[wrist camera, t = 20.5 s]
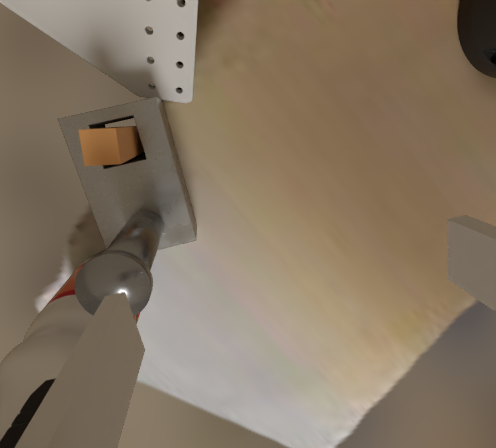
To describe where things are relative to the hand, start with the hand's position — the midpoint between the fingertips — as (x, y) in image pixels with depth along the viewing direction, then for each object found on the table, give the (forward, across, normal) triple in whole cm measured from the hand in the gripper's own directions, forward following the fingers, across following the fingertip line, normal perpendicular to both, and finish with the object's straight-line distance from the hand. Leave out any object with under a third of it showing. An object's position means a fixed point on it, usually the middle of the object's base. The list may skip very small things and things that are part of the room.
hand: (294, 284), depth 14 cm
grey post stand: (+32, +12, -2) cm, 34 cm away
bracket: (+32, +10, -20) cm, 39 cm away
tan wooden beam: (+32, +12, -6) cm, 34 cm away
